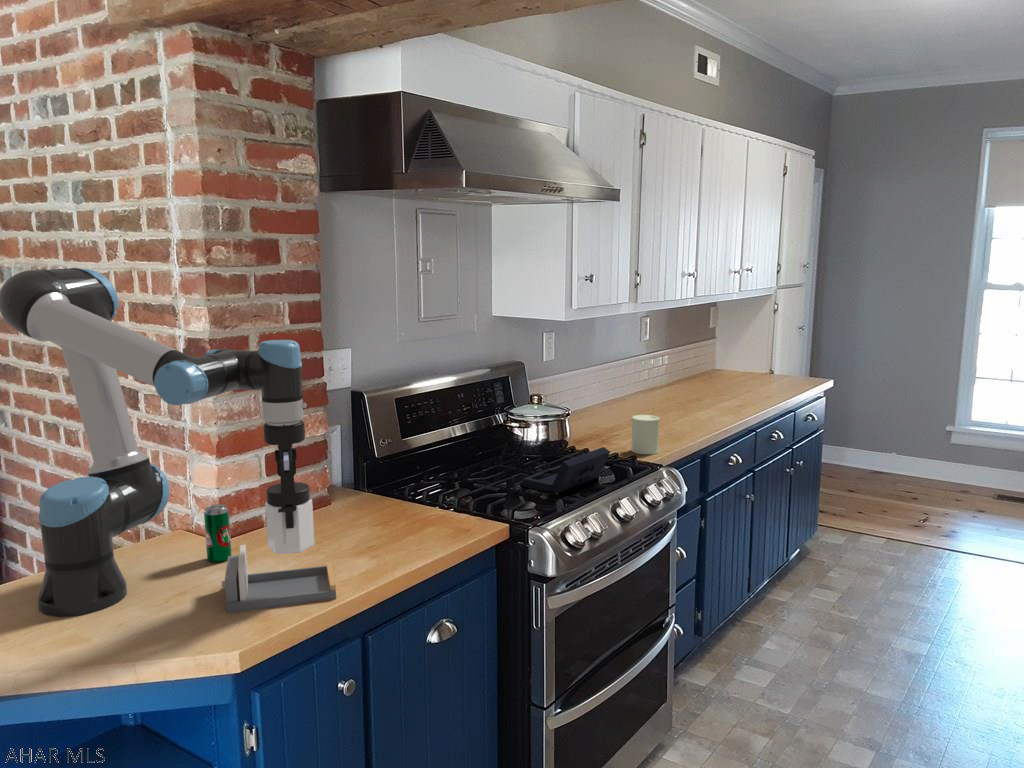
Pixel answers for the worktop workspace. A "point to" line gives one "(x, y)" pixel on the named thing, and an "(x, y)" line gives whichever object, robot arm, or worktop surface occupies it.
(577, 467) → the dark navy angled device
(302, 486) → the jar
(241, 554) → the pusher
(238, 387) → the robot arm
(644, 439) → the can
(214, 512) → the soda can
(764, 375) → the worktop surface
